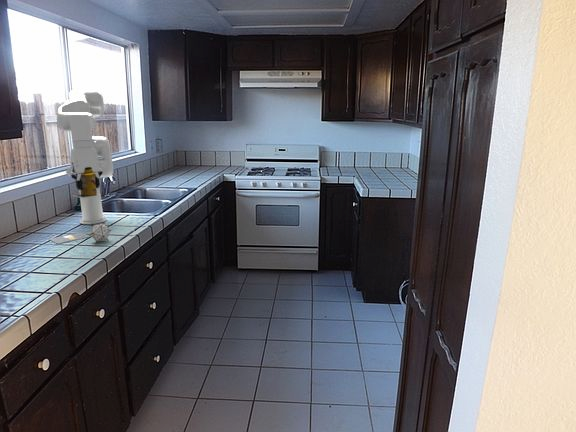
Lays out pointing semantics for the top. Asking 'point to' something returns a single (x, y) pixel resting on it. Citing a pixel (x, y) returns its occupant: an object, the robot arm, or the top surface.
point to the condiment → (88, 184)
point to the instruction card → (69, 238)
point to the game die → (100, 232)
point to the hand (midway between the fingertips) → (88, 188)
